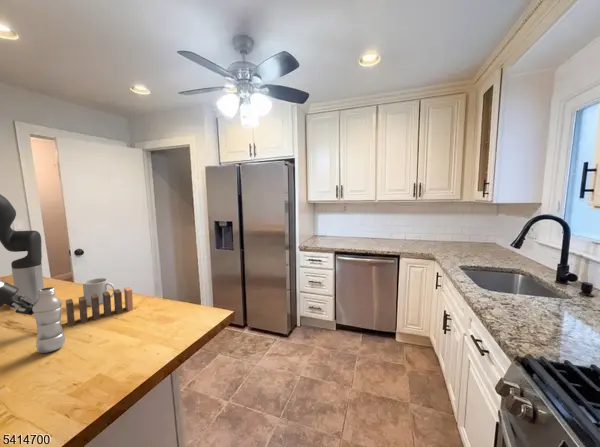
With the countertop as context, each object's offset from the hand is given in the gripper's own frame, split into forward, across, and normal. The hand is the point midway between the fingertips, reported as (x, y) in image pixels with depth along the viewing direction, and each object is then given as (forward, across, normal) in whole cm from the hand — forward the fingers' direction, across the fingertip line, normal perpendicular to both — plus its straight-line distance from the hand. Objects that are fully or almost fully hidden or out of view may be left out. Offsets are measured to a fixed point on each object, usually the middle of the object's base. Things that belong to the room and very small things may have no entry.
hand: (48, 315), depth 93 cm
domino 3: (+14, 0, -6) cm, 15 cm away
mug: (+16, +18, -8) cm, 25 cm away
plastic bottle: (+4, -18, +4) cm, 19 cm away
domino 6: (+22, 0, -14) cm, 26 cm away
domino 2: (+11, 0, -3) cm, 11 cm away
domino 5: (+19, 0, -11) cm, 22 cm away
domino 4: (+16, 0, -8) cm, 18 cm away
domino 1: (+8, 0, 0) cm, 8 cm away
